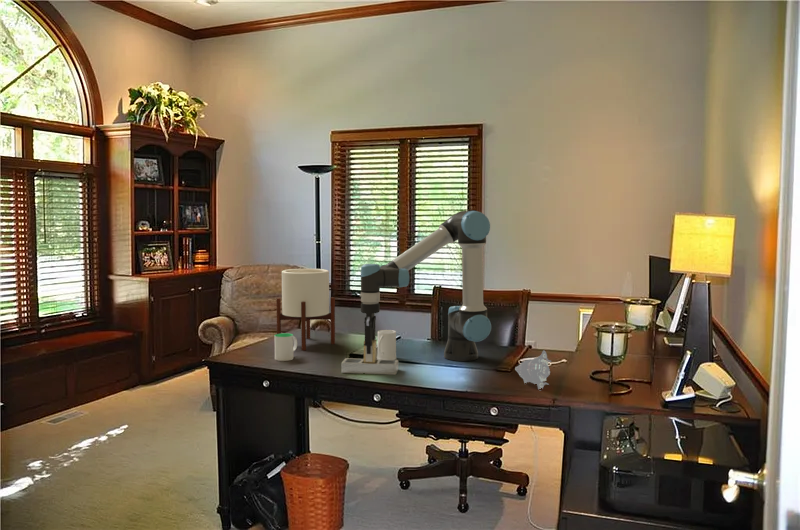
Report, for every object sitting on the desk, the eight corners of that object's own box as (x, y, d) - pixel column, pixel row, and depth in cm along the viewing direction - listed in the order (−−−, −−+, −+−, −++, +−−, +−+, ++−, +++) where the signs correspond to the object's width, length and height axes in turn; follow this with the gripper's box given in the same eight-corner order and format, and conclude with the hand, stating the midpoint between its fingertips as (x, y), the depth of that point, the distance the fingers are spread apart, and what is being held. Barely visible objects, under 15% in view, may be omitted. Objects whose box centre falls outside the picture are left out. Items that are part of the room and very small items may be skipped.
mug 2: (386, 363, 267) (386, 335, 266) (369, 360, 272) (369, 333, 271) (400, 357, 277) (400, 330, 276) (383, 355, 282) (383, 328, 281)
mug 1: (288, 353, 284) (288, 331, 283) (302, 355, 280) (302, 332, 279) (270, 359, 273) (270, 335, 272) (285, 361, 269) (285, 337, 268)
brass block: (376, 363, 256) (376, 339, 255) (374, 366, 251) (374, 341, 251) (365, 363, 256) (365, 339, 256) (363, 366, 252) (363, 341, 251)
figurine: (508, 386, 233) (537, 386, 223) (513, 347, 238) (541, 345, 228) (526, 393, 239) (555, 393, 228) (531, 355, 244) (559, 353, 233)
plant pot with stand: (338, 343, 305) (338, 270, 302) (303, 351, 288) (302, 274, 285) (308, 337, 320) (308, 267, 317) (272, 344, 303) (271, 270, 300)
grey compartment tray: (398, 369, 257) (398, 359, 256) (395, 374, 249) (395, 364, 249) (345, 367, 259) (345, 358, 259) (341, 372, 251) (341, 362, 251)
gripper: (364, 299, 261) (364, 354, 263) (356, 305, 243) (357, 364, 245) (382, 299, 260) (382, 355, 262) (376, 306, 242) (376, 365, 244)
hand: (370, 359), depth 254 cm, fingers open, 5 cm apart
